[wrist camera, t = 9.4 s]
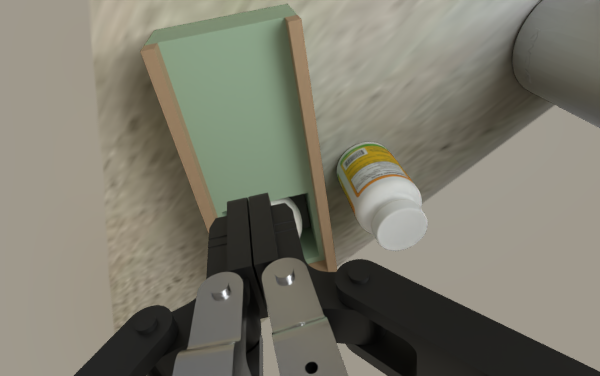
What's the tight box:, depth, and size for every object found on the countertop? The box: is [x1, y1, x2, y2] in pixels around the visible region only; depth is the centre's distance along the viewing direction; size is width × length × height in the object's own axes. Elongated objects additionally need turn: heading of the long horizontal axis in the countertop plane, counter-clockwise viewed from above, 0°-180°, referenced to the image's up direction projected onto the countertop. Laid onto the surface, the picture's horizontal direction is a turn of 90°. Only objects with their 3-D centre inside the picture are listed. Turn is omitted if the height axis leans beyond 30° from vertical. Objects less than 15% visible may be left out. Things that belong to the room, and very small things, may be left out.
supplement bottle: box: [337, 142, 428, 251], centre depth 33 cm, size 5×5×10 cm
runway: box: [140, 4, 337, 272], centre depth 32 cm, size 10×22×6 cm, turn 9°
